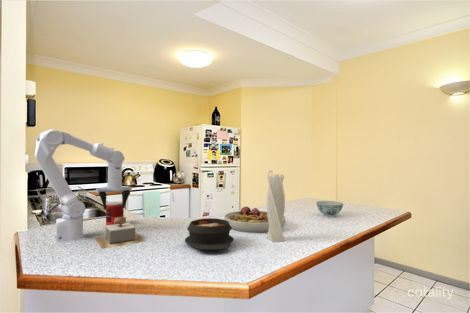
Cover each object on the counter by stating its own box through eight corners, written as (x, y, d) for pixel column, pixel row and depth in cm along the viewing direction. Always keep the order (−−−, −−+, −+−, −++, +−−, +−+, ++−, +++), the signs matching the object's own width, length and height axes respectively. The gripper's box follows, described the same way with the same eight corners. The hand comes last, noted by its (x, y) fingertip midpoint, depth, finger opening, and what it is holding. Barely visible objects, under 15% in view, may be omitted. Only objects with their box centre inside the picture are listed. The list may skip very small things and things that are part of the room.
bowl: (297, 231, 124) (297, 214, 124) (237, 237, 113) (237, 218, 113) (267, 218, 152) (267, 204, 152) (216, 222, 141) (216, 207, 141)
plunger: (112, 240, 100) (112, 220, 100) (108, 236, 106) (109, 217, 106) (131, 237, 104) (132, 218, 105) (127, 233, 110) (127, 215, 110)
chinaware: (345, 215, 161) (345, 202, 161) (340, 219, 148) (340, 205, 148) (319, 212, 169) (319, 200, 169) (313, 216, 156) (313, 203, 156)
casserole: (183, 236, 112) (183, 216, 112) (226, 234, 117) (226, 214, 117) (186, 257, 88) (187, 231, 88) (241, 253, 92) (241, 228, 93)
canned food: (126, 223, 135) (126, 201, 135) (117, 227, 127) (118, 204, 127) (111, 223, 135) (112, 201, 136) (102, 227, 127) (102, 203, 128)
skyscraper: (262, 237, 111) (262, 170, 112) (278, 236, 114) (278, 170, 114) (271, 243, 104) (272, 171, 104) (288, 241, 106) (288, 170, 107)
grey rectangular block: (110, 244, 99) (110, 230, 99) (105, 238, 106) (105, 225, 106) (137, 240, 105) (137, 226, 105) (131, 234, 112) (131, 222, 112)
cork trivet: (101, 250, 94) (101, 248, 94) (94, 239, 107) (94, 238, 107) (147, 242, 103) (147, 241, 103) (135, 233, 116) (135, 232, 116)
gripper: (98, 178, 112) (97, 211, 111) (134, 177, 120) (133, 208, 120) (95, 177, 117) (94, 208, 117) (129, 176, 126) (129, 205, 126)
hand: (114, 208), depth 119 cm, fingers open, 7 cm apart
